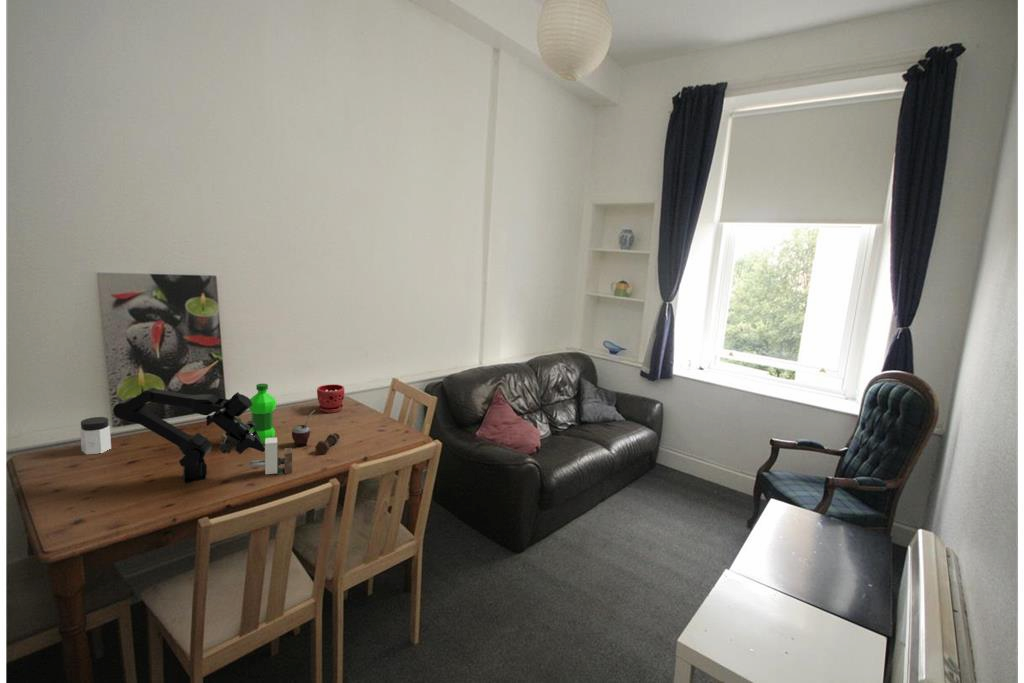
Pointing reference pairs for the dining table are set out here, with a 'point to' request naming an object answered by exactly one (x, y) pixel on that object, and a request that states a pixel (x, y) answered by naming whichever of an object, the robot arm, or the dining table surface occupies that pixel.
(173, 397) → the robot arm
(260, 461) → the pipe
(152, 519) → the dining table surface
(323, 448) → the brown knobbed cylinder
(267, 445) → the white rectangular block
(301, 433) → the mate gourd
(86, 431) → the jar
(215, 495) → the dining table surface
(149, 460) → the dining table surface
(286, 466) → the pipe block
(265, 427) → the plastic bottle
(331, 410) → the plant pot
